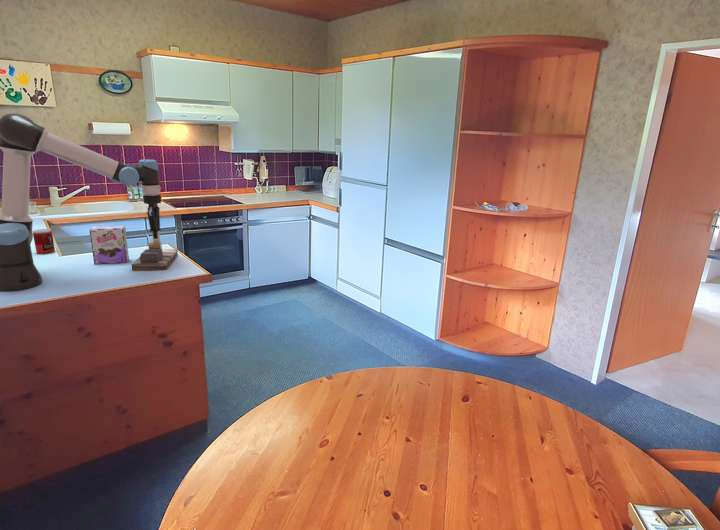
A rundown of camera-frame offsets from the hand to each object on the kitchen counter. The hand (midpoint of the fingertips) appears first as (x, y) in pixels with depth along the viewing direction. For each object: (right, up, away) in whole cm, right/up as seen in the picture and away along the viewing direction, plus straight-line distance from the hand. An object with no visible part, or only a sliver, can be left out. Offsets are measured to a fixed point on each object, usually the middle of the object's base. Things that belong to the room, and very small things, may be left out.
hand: (157, 244), depth 213 cm
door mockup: (0, -8, -2) cm, 9 cm away
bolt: (+1, -6, -5) cm, 8 cm away
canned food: (-60, -3, +12) cm, 61 cm away
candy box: (-20, -8, -2) cm, 22 cm away
